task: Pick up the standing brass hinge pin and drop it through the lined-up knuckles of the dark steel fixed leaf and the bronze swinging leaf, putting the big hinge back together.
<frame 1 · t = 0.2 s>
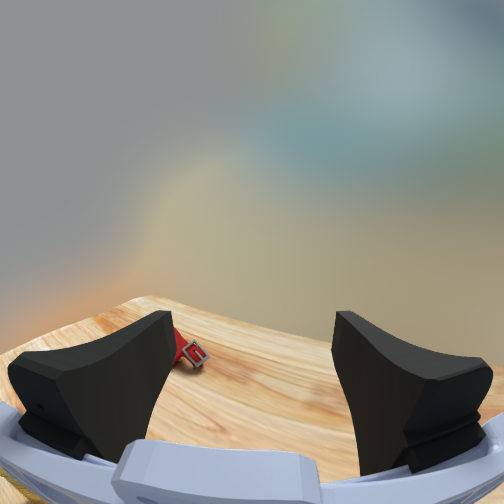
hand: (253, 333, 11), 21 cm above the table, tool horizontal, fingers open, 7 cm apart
tracker holder: (173, 360, 42), on the table
hinge pin: (45, 502, 10), on the table
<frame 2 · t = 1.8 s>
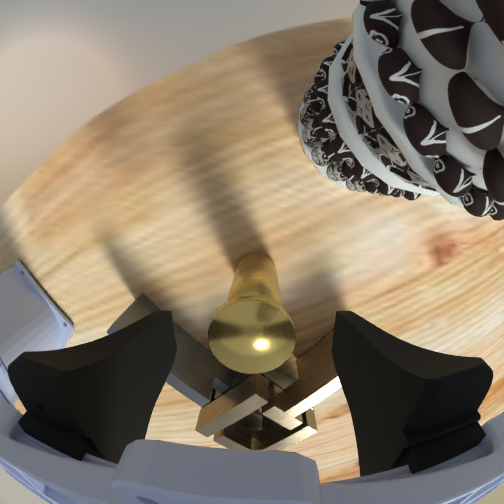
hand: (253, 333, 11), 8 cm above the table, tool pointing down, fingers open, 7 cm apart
swing leaf: (287, 392, 19), point 3 cm above the table, hinge at 0.0°
decorative candle: (356, 131, 16), on the table
fixed leaf: (257, 391, 22), on the table
hinge pin: (256, 272, 19), on the table
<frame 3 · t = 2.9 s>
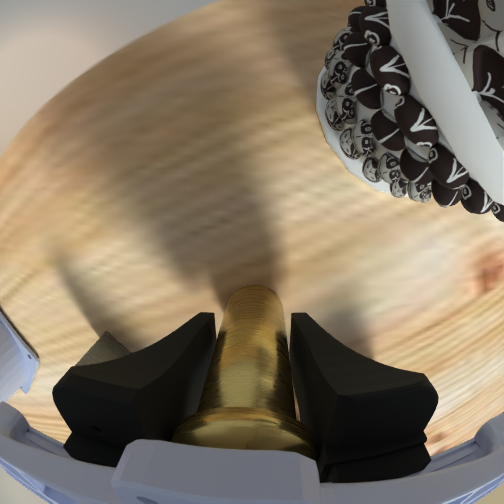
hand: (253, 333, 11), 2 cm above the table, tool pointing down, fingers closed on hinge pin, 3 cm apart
decorative candle: (396, 114, 11), on the table
fixed leaf: (256, 443, 16), on the table
hinge pin: (254, 312, 13), on the table, touching gripper
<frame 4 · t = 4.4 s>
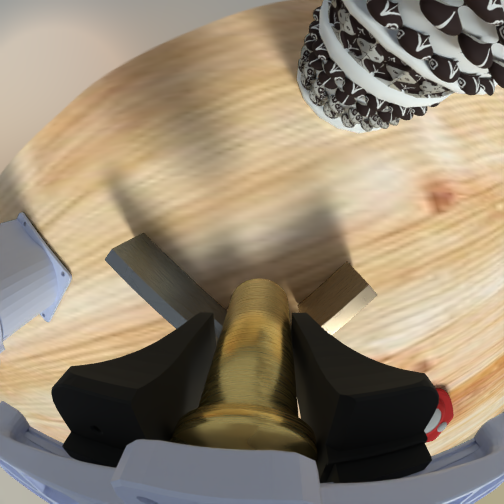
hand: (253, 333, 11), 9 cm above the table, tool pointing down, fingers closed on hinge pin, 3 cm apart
swing leaf: (289, 337, 19), point 3 cm above the table, hinge at 0.0°
decorative candle: (350, 83, 17), on the table
fixed leaf: (257, 344, 22), on the table
tracker holder: (408, 415, 25), on the table
hinge pin: (259, 304, 13), point 7 cm above the table, touching gripper
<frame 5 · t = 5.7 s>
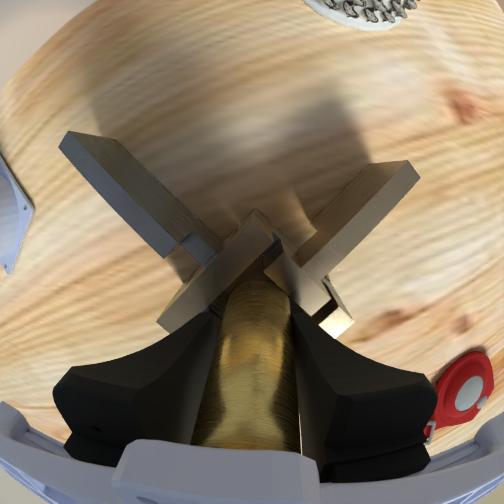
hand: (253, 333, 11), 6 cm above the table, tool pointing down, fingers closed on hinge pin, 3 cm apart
swing leaf: (302, 259, 14), point 3 cm above the table, hinge at 0.0°
fixed leaf: (256, 284, 17), on the table
tracker holder: (442, 390, 20), on the table
hinge pin: (258, 307, 12), point 5 cm above the table, tilted 7°, touching gripper
when the fingers open (6 cm above the table, at t = 6.2 s): hinge pin drops 5 cm, resting in fixed leaf.
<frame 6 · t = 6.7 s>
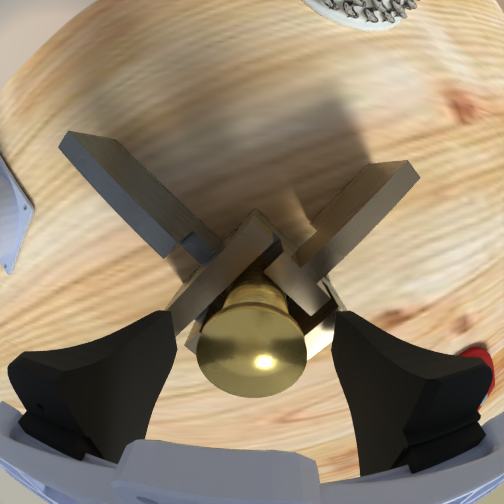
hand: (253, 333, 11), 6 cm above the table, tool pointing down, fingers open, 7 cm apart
swing leaf: (302, 259, 14), point 3 cm above the table, hinge at 0.0°
fixed leaf: (256, 284, 17), on the table
tracker holder: (443, 386, 20), on the table
hinge pin: (258, 274, 17), resting in fixed leaf
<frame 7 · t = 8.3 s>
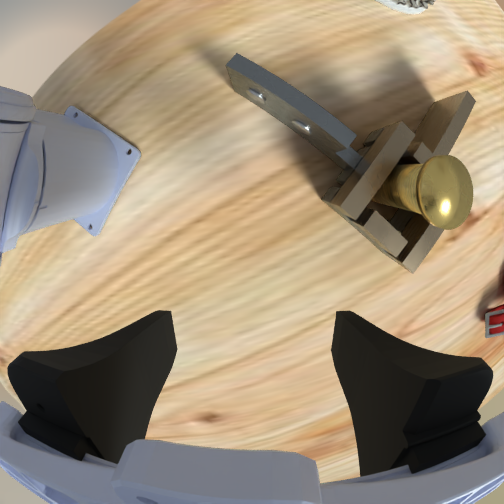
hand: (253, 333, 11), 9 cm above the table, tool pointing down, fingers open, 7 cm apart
swing leaf: (418, 159, 15), point 3 cm above the table, hinge at 0.0°
fixed leaf: (379, 193, 19), on the table
hinge pin: (380, 184, 18), resting in fixed leaf
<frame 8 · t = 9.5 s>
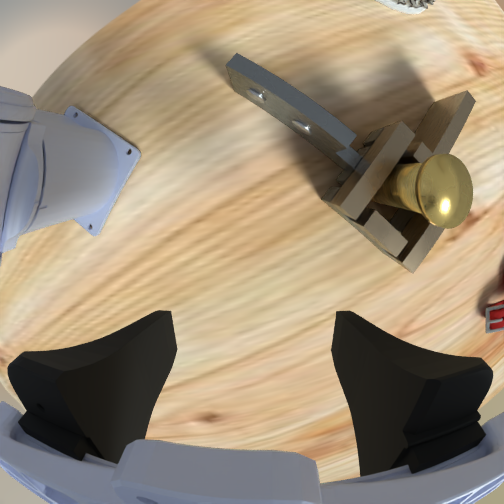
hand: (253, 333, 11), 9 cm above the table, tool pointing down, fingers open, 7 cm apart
swing leaf: (418, 159, 15), point 3 cm above the table, hinge at 0.0°
fixed leaf: (379, 193, 19), on the table
hinge pin: (380, 184, 18), resting in fixed leaf
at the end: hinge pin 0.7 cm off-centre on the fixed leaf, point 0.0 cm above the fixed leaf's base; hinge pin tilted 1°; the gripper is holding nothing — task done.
